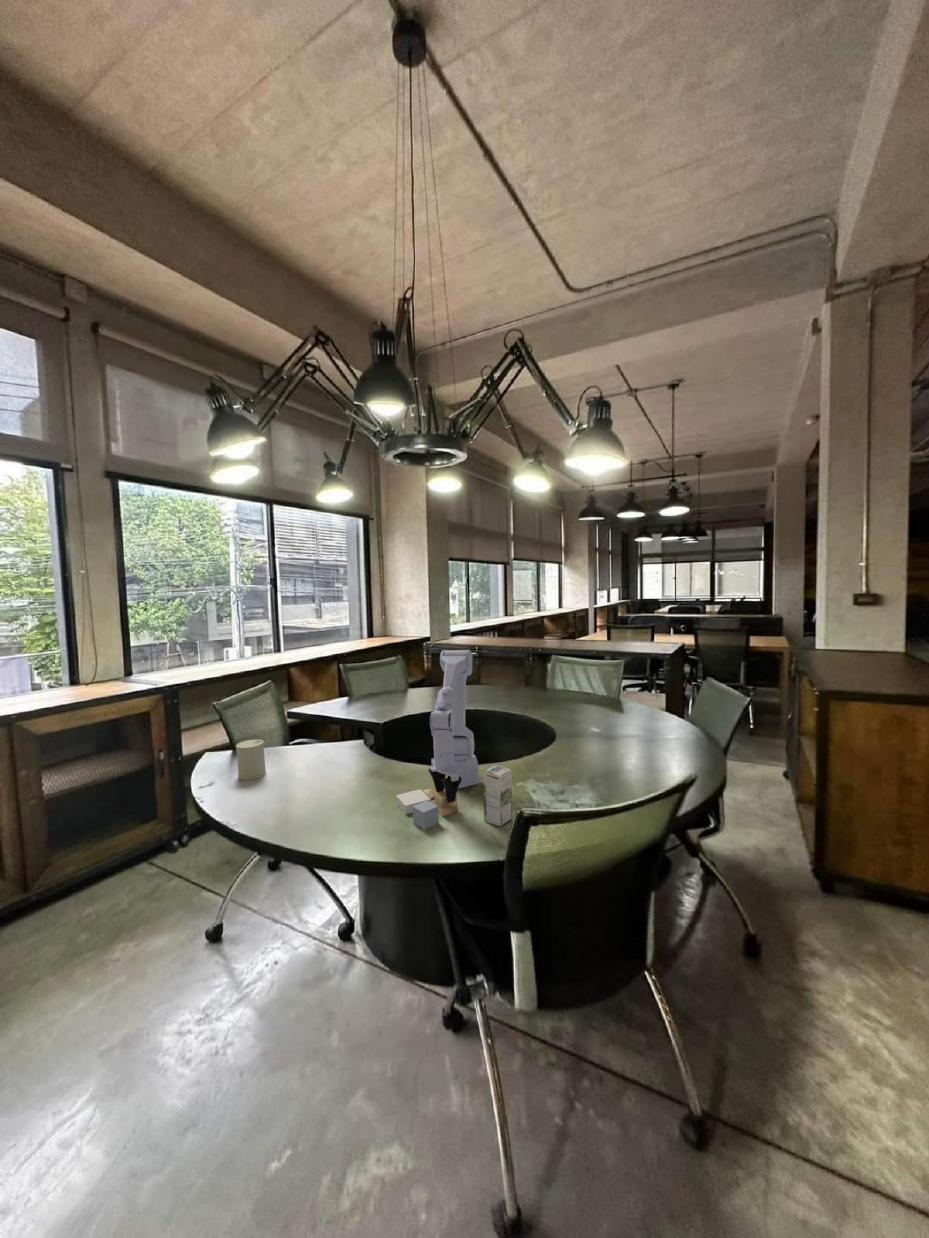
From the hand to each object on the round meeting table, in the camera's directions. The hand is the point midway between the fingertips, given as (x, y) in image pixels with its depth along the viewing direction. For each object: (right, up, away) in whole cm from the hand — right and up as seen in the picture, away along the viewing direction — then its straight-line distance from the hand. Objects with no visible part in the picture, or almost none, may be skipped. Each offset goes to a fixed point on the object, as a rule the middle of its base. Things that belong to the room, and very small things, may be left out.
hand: (445, 796), depth 143 cm
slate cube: (-5, -5, -7) cm, 10 cm away
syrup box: (+15, -4, -7) cm, 17 cm away
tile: (-4, -3, +12) cm, 13 cm away
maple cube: (0, -4, 0) cm, 4 cm away
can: (-70, -4, +33) cm, 78 cm away
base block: (-10, -5, +4) cm, 12 cm away
